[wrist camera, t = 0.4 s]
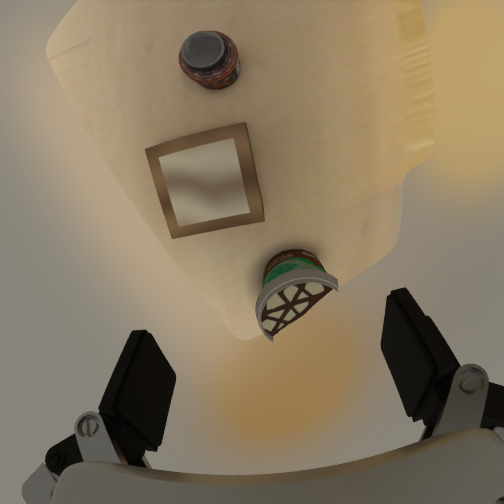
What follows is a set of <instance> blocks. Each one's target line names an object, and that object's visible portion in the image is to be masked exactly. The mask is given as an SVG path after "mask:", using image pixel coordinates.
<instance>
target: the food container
mask: <svg viewBox="0 0 504 504" xmlns="http://www.w3.org/2000/svg"><path fill="white" fill-rule="evenodd" d="M337 288H338V280H337V279H336V278H335V277H333V276H332V275H330V274H328V273H327V272H326V270H325V269H324V267H323V266H322V264H321V263H320V261H319V260H318V258H317V257H316V256H315V255H313V254H312V253H310V252H307V251H304V250H298V249H291V250H286V251H282V252H281V253H279V254H277V255H275V256H274V257H273V258H272V259H271V260H270V261H269V262H268V264H267V266H266V268H265V271H264V279H263V288H262V291H261V293H260V294H259V296H258V299H257V302H256V310H255V311H256V317H257V320H258V323H259V326H260V328H261V330H262V331H263V333H264V334H265V336H266V337H267V338H268V339H269V340H271V341H272V342H273V336H274V335H275V334H277V333H278V332H279V331H280V330H281V329H283V328H284V327H286V326H287V325H288V324H290V323H292V322H293V321H295V320H297V319H298V318H300V317H301V316H303V315H304V314H305V313H306V312H307V311H308V310H309V309H310V308H311V307H312V306H313V305H315V304H316V303H317V302H318V301H319V300H320V299H322V298H323V297H324V296H325V295H326V294H328V293H329V292H330V291H331V290H333V289H334V290H336V291H337V292H338V289H337Z"/></svg>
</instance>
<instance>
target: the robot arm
mask: <svg viewBox="0 0 504 504" xmlns="http://www.w3.org/2000/svg"><path fill="white" fill-rule="evenodd" d="M381 350H382V352H383V355H384V357H385V360H386V362H387V365H388V367H389V369H390V372H391V374H392V377H393V379H394V382H395V385H396V387H397V390H398V392H399V395H400V398H401V400H402V403H403V406H404V409H405V411H406V414H407V416H408V417H411V416H412V419H413V422H416V421H418V420H421V419H422V420H423V423H424V425H425V429H424V431H423V433H422V436H421V438H420V440H419V442H416V443H413V444H410V445H407V446H405V447H401V448H398V449H395V450H392V451H389V452H385V453H382V454H378V455H375V456H371V457H367V458H363V459H359V460H356V461H351V462H347V463H342V464H338V465H332V466H327V467H322V468H315V469H309V470H302V471H294V472H284V473H272V474H256V475H209V474H193V473H181V472H172V471H164V470H156V469H152V468H151V466H150V464H149V462H148V461H147V459H146V457H145V455H144V454H145V450H147V451H154V452H157V449H158V446H160V445H161V443H162V439H163V435H164V430H165V426H166V421H167V416H168V412H169V408H170V404H171V399H172V395H173V391H174V387H175V383H176V375H175V372H174V370H173V369H172V367H171V366H170V364H169V362H168V361H167V359H166V358H165V356H164V354H163V353H162V351H161V349H160V348H159V346H158V344H157V343H156V341H155V339H154V337H153V336H152V334H151V333H148V331H147V330H133V331H132V332H131V334H130V336H129V338H128V340H127V342H126V344H125V346H124V349H123V351H122V353H121V355H120V357H119V360H118V362H117V364H116V367H115V369H114V371H113V374H112V376H111V378H110V380H109V383H108V385H107V388H106V390H105V393H104V395H103V397H102V400H101V402H100V405H99V408H98V409H99V410H100V411H99V413H96V412H93V411H89V412H86V413H84V414H82V415H81V416H80V417H79V418H78V419H77V421H76V423H75V427H74V430H75V433H74V434H73V435H71V436H69V437H68V438H66V439H65V440H63V441H61V442H59V443H58V444H56V445H54V446H53V447H51V448H50V449H49V450H48V452H47V454H46V457H45V462H46V464H44V463H42V464H41V465H40V467H39V468H38V469H37V470H36V471H35V472H34V473H33V474H32V475H31V476H30V477H29V478H28V479H27V480H26V481H25V483H24V484H23V486H22V495H23V498H24V500H25V501H26V503H27V504H504V386H501V385H498V384H495V383H491V382H489V378H488V375H487V373H486V371H485V370H484V369H483V368H482V367H480V366H478V365H476V364H465V365H463V366H460V364H459V362H458V361H457V359H456V357H455V356H454V354H453V352H452V351H451V349H450V347H449V346H448V344H447V342H446V341H445V339H444V338H443V336H442V334H441V333H440V331H439V330H438V328H437V327H436V325H435V324H434V322H433V321H432V319H431V318H430V317H429V316H425V314H424V313H423V311H422V310H421V308H420V307H419V306H418V304H417V303H416V301H415V300H414V298H413V297H412V295H411V294H410V292H409V291H408V290H407V289H406V288H405V287H404V288H400V289H396V290H392V291H391V293H390V295H388V296H387V299H386V309H385V317H384V324H383V331H382V338H381Z"/></svg>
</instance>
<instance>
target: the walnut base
mask: <svg viewBox="0 0 504 504" xmlns="http://www.w3.org/2000/svg"><path fill="white" fill-rule="evenodd" d="M145 151H146V155H147V159H148V162H149V166H150V169H151V173H152V176H153V180H154V183H155V187H156V190H157V193H158V197H159V200H160V203H161V206H162V210H163V213H164V216H165V219H166V222H167V225H168V228H169V231H170V234H171V237H172V239H175V238H180V237H185V236H190V235H195V234H200V233H205V232H210V231H215V230H220V229H225V228H231V227H236V226H241V225H247V224H252V223H257V222H263V221H265V219H264V208H263V203H262V198H261V193H260V188H259V183H258V178H257V173H256V168H255V163H254V159H253V154H252V149H251V144H250V140H249V135H248V130H247V126H246V122H245V123H240V124H235V125H230V126H226V127H221V128H217V129H213V130H209V131H205V132H201V133H197V134H193V135H189V136H186V137H182V138H179V139H175V140H172V141H169V142H165V143H162V144H159V145H156V146H153V147H149V148H146V149H145Z"/></svg>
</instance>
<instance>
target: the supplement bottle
mask: <svg viewBox="0 0 504 504" xmlns="http://www.w3.org/2000/svg"><path fill="white" fill-rule="evenodd" d="M179 64H180V67H181V69H182V70H183V72H184V73H185V74H186V75H187V76H188V77H189V78H191V79H192V80H194V81H196V82H197V83H199V84H200V85H202V86H203V87H206V88H208V89H223V88H226V87H228V86H230V85H231V84H232V83H233V82H235V81H236V79H237V78H238V76H239V73H240V61H239V57H238V53H237V49H236V46H235V44H234V42H233V41H232V40H231V39H230V38H229V37H228V36H227V35H225V34H223V33H221V32H217V31H199V32H197V33H194V34H192V35H191V36H189V37H188V38H187V39H186V40H185V42H184V43H183V46H182V48H181V50H180V53H179Z"/></svg>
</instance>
